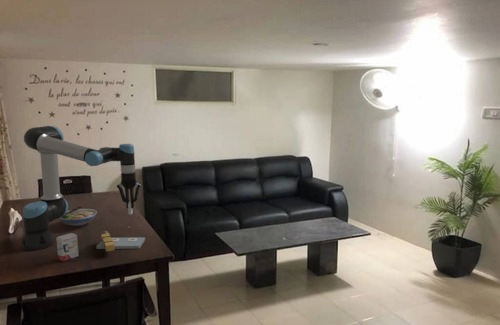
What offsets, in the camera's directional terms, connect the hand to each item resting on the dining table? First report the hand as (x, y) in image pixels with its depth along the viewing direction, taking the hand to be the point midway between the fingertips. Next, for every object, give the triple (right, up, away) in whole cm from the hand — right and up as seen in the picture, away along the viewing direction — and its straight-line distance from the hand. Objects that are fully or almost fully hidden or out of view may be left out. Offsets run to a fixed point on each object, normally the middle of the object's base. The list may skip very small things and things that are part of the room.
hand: (130, 213), depth 214 cm
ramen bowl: (-44, -12, +33) cm, 56 cm away
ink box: (-26, -20, -18) cm, 38 cm away
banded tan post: (-10, -16, -7) cm, 20 cm away
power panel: (-5, -17, 0) cm, 18 cm away
